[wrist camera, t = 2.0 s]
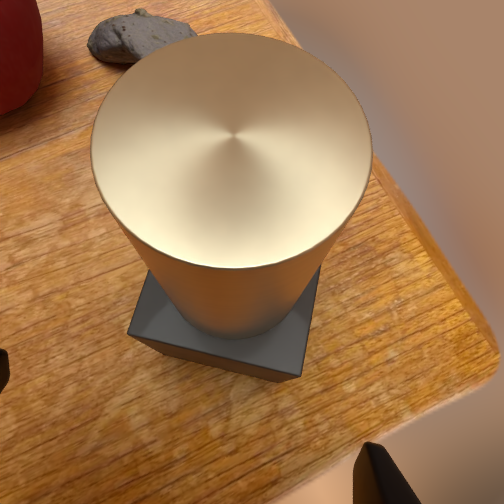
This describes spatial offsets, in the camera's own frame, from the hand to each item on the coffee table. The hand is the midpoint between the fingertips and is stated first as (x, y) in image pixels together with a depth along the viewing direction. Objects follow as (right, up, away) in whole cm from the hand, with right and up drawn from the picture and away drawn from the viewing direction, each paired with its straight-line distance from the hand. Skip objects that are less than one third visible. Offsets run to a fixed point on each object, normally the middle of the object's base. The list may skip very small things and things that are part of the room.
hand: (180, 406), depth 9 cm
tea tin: (+1, +3, +7) cm, 7 cm away
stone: (-5, +17, +20) cm, 27 cm away
